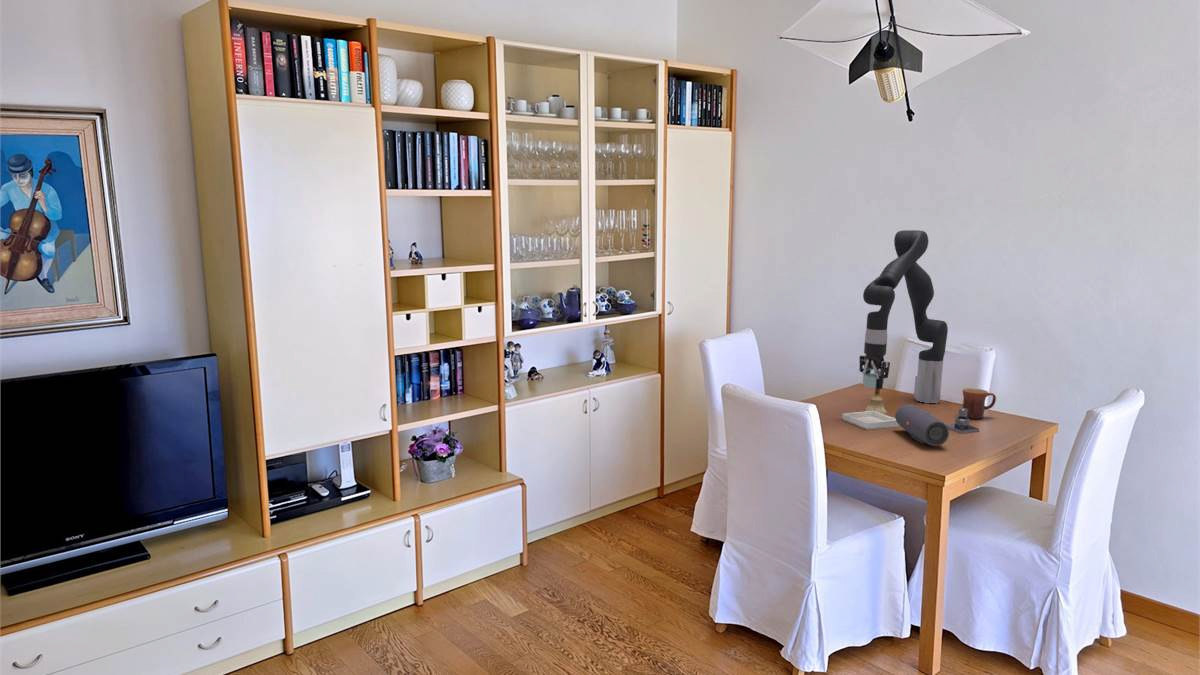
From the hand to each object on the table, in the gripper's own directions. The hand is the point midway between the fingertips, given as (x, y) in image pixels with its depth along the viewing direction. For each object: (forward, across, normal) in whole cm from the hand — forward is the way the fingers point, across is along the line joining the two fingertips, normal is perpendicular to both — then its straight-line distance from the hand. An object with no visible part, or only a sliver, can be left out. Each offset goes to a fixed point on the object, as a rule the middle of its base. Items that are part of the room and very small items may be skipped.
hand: (872, 386), depth 299 cm
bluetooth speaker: (+14, +22, +3) cm, 26 cm away
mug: (+14, +6, +44) cm, 47 cm away
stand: (+13, +17, +26) cm, 34 cm away
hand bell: (+14, -13, +13) cm, 23 cm away
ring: (0, 0, 0) cm, 0 cm away
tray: (+14, 0, 0) cm, 14 cm away
